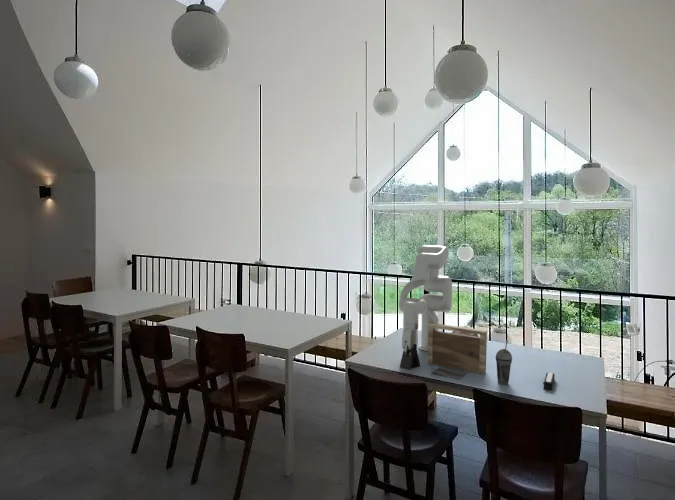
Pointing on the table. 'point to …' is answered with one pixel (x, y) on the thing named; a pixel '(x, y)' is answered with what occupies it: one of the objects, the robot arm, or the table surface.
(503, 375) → the beverage cup
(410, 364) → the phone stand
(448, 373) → the model door
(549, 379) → the bus
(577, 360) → the table surface
